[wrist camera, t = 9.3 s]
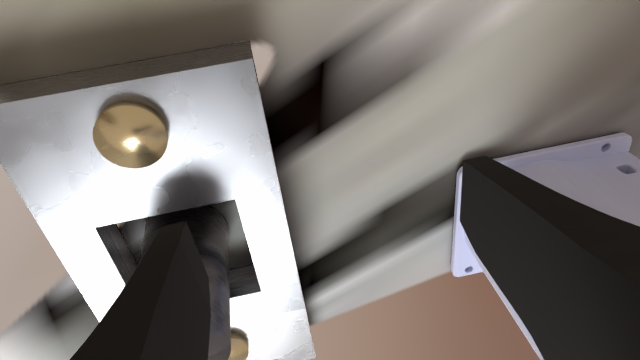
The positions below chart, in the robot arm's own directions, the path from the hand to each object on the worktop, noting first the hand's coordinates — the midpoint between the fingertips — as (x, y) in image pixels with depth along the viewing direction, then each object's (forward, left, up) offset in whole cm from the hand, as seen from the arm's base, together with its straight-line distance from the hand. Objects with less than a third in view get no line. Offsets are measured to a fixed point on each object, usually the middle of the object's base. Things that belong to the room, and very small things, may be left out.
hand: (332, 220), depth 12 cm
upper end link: (+6, +5, -9) cm, 12 cm away
